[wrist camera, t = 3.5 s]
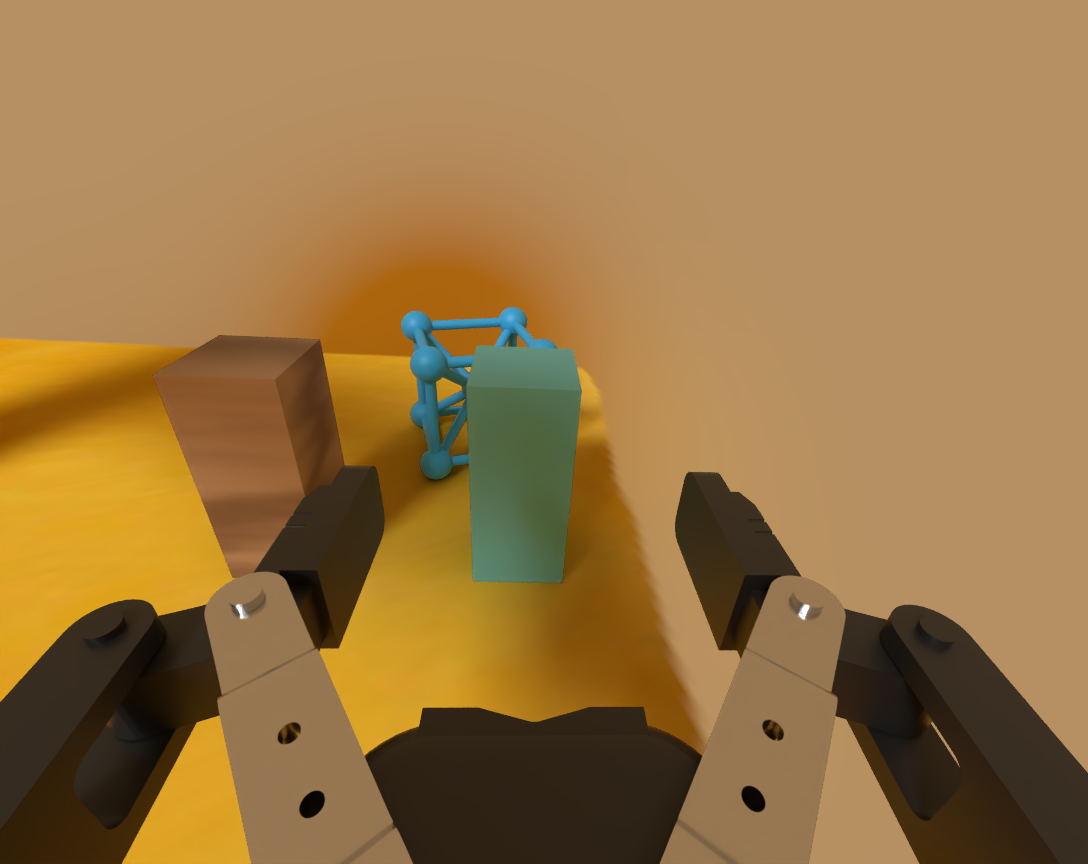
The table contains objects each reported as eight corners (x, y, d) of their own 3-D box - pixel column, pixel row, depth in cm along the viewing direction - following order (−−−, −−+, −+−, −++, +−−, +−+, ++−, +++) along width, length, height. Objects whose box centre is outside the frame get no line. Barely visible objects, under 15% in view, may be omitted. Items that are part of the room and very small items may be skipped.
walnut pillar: (326, 579, 26) (275, 379, 20) (232, 577, 26) (152, 375, 20) (355, 518, 30) (320, 339, 24) (275, 517, 30) (219, 335, 24)
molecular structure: (519, 409, 45) (523, 302, 40) (555, 468, 37) (565, 344, 32) (410, 420, 42) (398, 307, 37) (423, 488, 34) (410, 355, 29)
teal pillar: (562, 582, 27) (581, 390, 21) (473, 581, 27) (466, 386, 20) (557, 523, 31) (572, 349, 25) (481, 521, 31) (477, 345, 25)
